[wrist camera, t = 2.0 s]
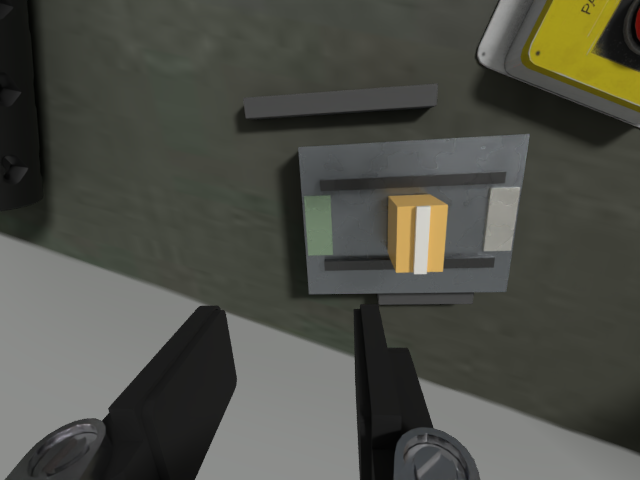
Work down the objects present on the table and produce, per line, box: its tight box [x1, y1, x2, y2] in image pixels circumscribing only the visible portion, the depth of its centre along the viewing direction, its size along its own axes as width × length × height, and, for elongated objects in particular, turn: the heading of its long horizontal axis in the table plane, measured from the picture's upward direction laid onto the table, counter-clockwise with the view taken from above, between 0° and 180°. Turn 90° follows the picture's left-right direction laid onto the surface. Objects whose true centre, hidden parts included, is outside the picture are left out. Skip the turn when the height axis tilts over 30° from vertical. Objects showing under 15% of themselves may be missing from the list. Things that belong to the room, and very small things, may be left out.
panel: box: [298, 134, 530, 294], centre depth 24 cm, size 16×12×3 cm
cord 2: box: [377, 292, 474, 305], centre depth 27 cm, size 8×1×1 cm, turn 93°
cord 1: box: [243, 84, 438, 120], centre depth 22 cm, size 14×1×1 cm, turn 93°
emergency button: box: [477, 0, 640, 128], centre depth 19 cm, size 9×4×15 cm
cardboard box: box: [387, 194, 448, 274], centre depth 21 cm, size 3×4×4 cm
